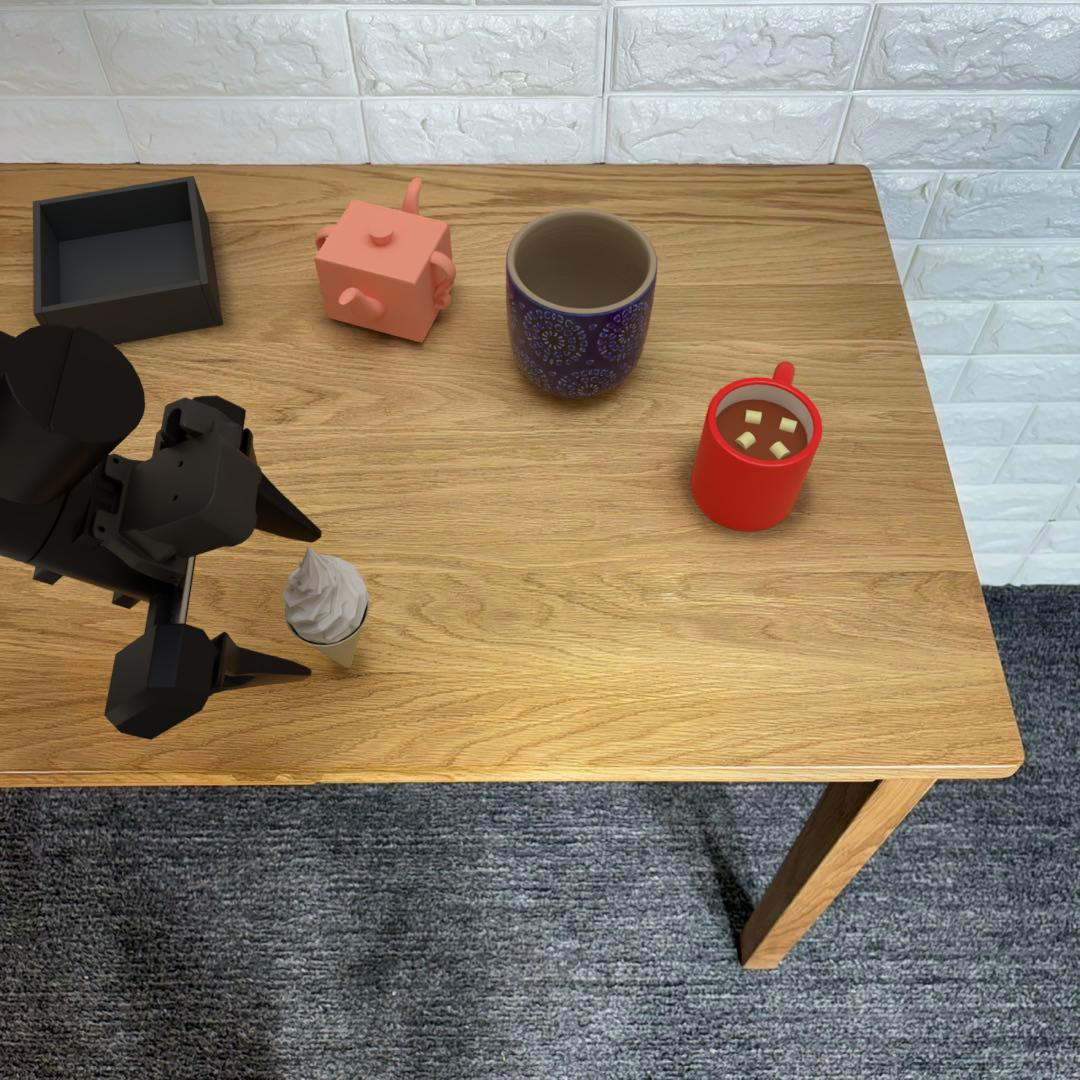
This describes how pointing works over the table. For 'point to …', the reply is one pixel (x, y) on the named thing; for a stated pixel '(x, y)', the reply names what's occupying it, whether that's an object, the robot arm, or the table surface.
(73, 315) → the storage bin
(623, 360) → the planter
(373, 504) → the table surface
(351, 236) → the teapot
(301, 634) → the ice cream cone
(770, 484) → the mug
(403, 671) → the table surface
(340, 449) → the table surface
